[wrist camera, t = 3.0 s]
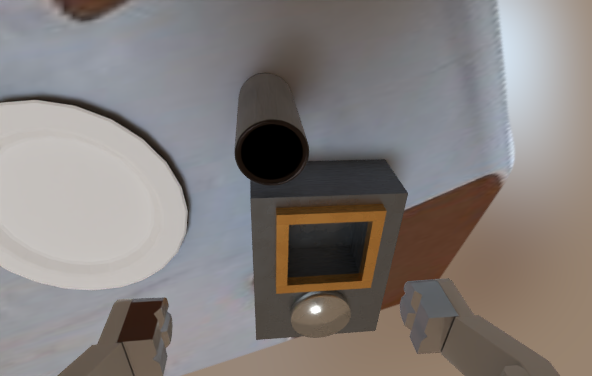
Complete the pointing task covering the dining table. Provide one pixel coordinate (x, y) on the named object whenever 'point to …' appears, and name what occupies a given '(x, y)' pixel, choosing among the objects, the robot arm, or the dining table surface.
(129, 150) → the plate
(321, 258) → the grey box with knob
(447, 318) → the robot arm
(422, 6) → the dining table surface
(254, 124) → the grey cylinder
